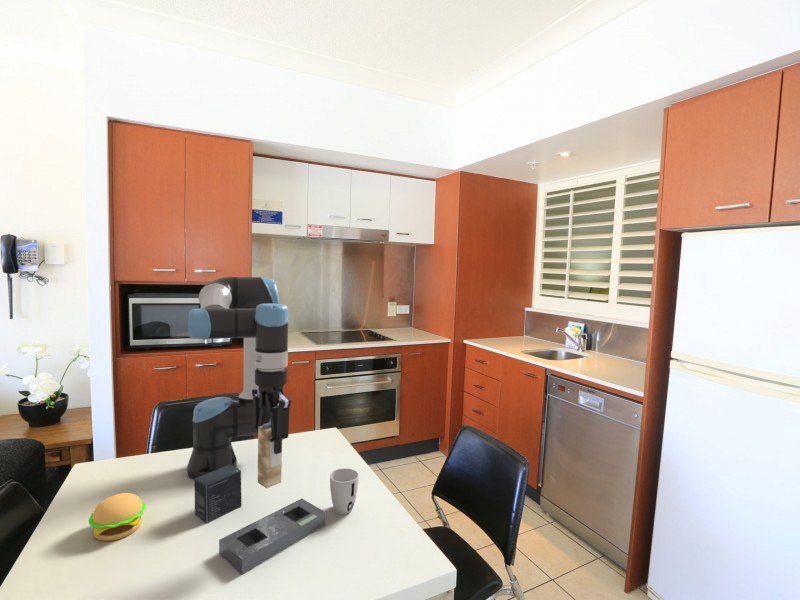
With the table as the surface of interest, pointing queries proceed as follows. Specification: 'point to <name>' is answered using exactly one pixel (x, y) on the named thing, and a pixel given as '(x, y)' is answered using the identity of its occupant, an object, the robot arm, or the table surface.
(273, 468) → the plug
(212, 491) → the box
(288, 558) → the table surface
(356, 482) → the cup
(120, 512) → the toy hamburger
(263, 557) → the panel
